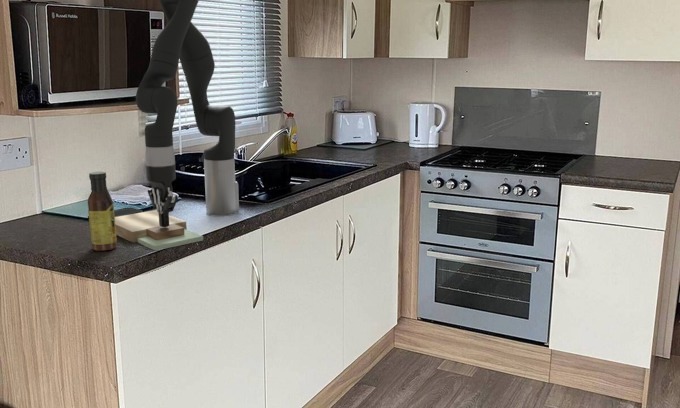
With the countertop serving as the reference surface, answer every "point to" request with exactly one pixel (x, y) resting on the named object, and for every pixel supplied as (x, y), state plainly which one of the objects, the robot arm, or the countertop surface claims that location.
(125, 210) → the phone
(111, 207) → the sauce bottle
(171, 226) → the brown wooden block
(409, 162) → the countertop surface
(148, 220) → the butcher block
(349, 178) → the countertop surface
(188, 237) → the sage mat
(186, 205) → the countertop surface
